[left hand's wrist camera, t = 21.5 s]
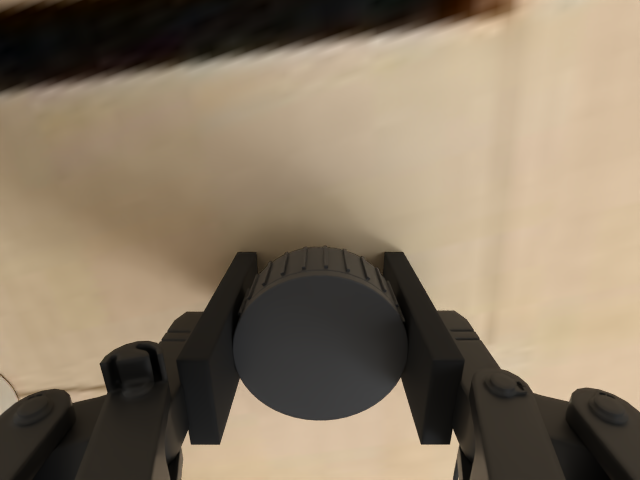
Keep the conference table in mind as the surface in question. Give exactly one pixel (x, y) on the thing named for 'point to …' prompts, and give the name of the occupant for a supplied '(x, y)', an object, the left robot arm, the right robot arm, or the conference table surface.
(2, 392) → the white cylindrical bottle
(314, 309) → the lid
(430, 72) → the conference table surface
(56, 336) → the conference table surface
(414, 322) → the left robot arm
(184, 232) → the conference table surface
